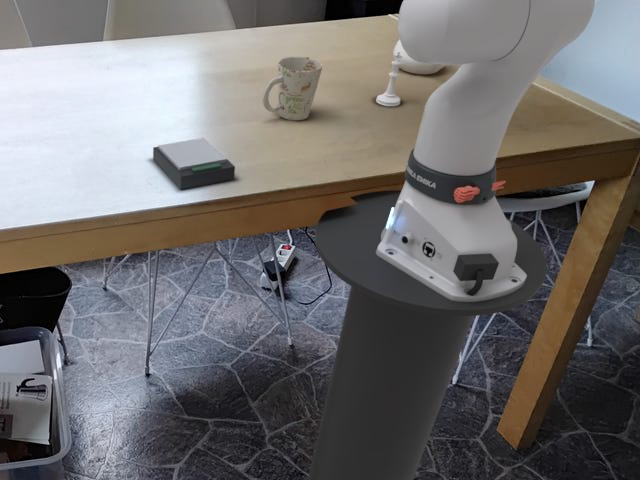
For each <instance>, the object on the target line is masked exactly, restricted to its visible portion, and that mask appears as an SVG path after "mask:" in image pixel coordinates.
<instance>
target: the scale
mask: <svg viewBox="0 0 640 480" xmlns="http://www.w3.org/2000/svg"><path fill="white" fill-rule="evenodd" d="M152 148H153V149H152V161H153V162H154V163H155V164H156V165H157V166H158V167H159V168H160V170H162V171H163V172H164V173H165V175H167V177H168V178H169V179H170V180H171V181H172V182H173V183H174V184H175V185H176V187H177V188H178V189H180V191H182V190H187V189H192V188H197V187H202V186H203V187H204V186H208V185H212V184H217V183H222V182H228V181H233V180H235V171H236V166H235V165H234V164H233V163H232V162H231V161H230V160H229V159H228V158H226V157H225V156H224V155H223V154H222V153H221V152H220V151H219V150H218V149H217V148H215V146H213V145H212V144H211V143H210V142H209V141H208V140H207V139H205V137H199V138H194V139H193V138H192V139H188V140H187V139H186V140H181V141H177V142H171V143H164V144H159V145H157V146H153V147H152Z"/></svg>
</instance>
